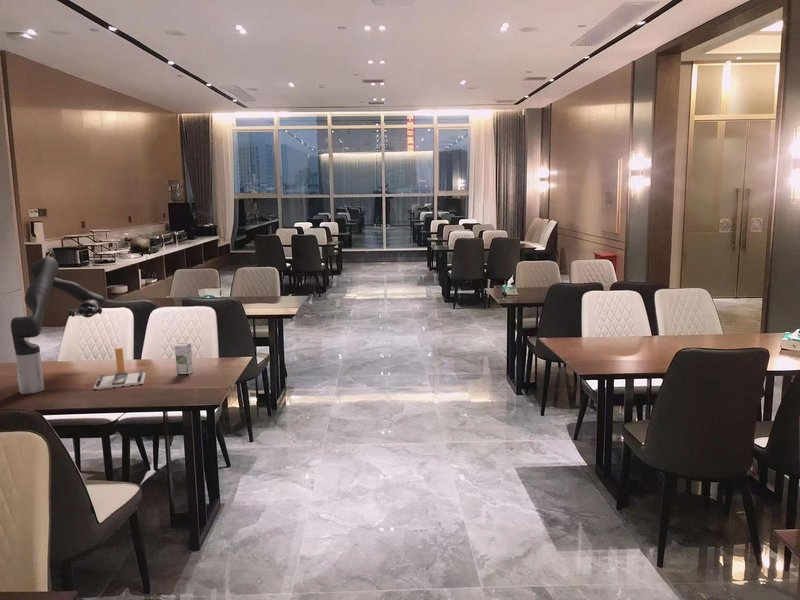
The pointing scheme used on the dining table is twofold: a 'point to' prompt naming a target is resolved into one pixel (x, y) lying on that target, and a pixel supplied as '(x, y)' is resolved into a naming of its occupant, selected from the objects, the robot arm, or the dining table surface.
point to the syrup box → (183, 358)
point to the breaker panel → (120, 380)
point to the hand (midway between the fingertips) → (82, 313)
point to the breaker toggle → (120, 362)
